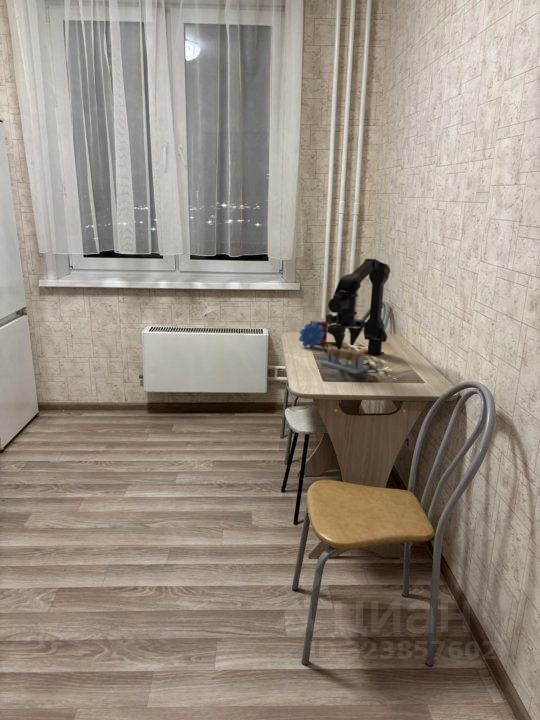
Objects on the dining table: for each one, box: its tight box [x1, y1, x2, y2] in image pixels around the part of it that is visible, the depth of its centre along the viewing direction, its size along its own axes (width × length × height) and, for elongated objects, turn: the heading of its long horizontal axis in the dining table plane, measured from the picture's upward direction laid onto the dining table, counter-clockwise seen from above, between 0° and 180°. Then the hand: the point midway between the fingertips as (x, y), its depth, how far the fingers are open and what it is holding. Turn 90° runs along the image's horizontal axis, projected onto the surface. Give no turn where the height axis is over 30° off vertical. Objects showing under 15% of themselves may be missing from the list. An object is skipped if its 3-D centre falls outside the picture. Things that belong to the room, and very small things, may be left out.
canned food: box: [309, 317, 328, 345], centre depth 254 cm, size 8×8×11 cm
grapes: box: [298, 322, 325, 348], centre depth 246 cm, size 12×7×12 cm, turn 83°
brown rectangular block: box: [329, 346, 362, 362], centre depth 216 cm, size 13×4×3 cm, turn 48°
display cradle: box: [321, 348, 370, 375], centre depth 217 cm, size 9×17×6 cm, turn 48°
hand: (345, 347), depth 215 cm, fingers open, 9 cm apart
